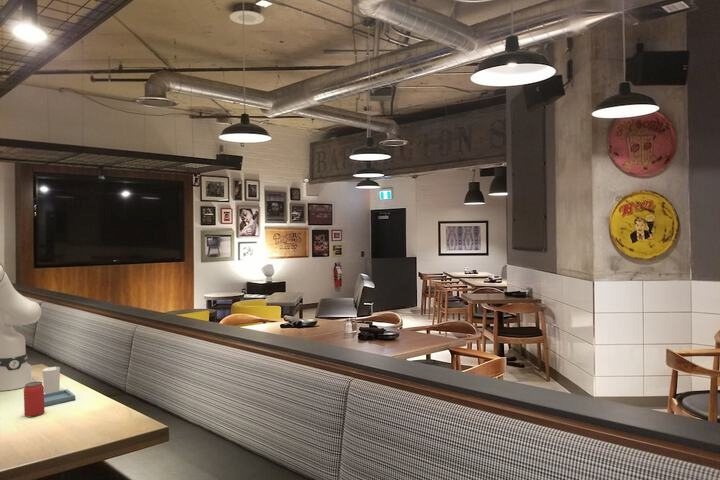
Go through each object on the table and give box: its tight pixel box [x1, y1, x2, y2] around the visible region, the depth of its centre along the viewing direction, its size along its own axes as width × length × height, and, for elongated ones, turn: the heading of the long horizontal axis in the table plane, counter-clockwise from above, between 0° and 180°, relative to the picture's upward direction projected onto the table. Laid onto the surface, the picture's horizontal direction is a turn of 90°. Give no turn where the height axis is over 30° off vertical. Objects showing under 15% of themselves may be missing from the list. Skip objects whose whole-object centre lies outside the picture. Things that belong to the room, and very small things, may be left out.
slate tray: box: [44, 388, 76, 408], centre depth 216 cm, size 12×12×2 cm
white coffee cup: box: [41, 366, 61, 394], centre depth 228 cm, size 7×7×10 cm
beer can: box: [23, 381, 45, 418], centre depth 199 cm, size 7×7×12 cm
